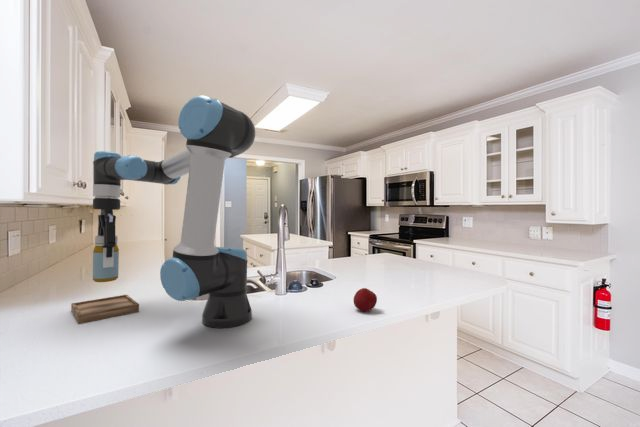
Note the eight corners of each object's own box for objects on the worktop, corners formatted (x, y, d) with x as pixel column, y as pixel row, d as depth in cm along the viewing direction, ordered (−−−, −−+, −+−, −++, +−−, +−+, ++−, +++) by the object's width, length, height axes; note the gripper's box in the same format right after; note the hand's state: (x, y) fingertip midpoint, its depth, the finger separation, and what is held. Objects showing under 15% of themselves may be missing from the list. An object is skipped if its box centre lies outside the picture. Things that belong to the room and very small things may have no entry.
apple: (368, 316, 99) (369, 292, 99) (349, 310, 104) (349, 288, 104) (380, 311, 104) (380, 288, 104) (361, 306, 110) (361, 284, 110)
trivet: (138, 311, 100) (139, 304, 100) (78, 324, 88) (78, 315, 88) (126, 301, 111) (126, 294, 111) (71, 311, 99) (71, 303, 99)
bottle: (123, 278, 103) (123, 235, 102) (106, 283, 96) (107, 237, 96) (104, 277, 103) (105, 235, 103) (87, 282, 96) (88, 236, 96)
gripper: (127, 197, 95) (126, 268, 95) (113, 199, 109) (112, 260, 109) (99, 196, 90) (97, 271, 90) (87, 198, 103) (86, 262, 103)
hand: (105, 265), depth 99 cm, fingers closed on bottle, 7 cm apart
